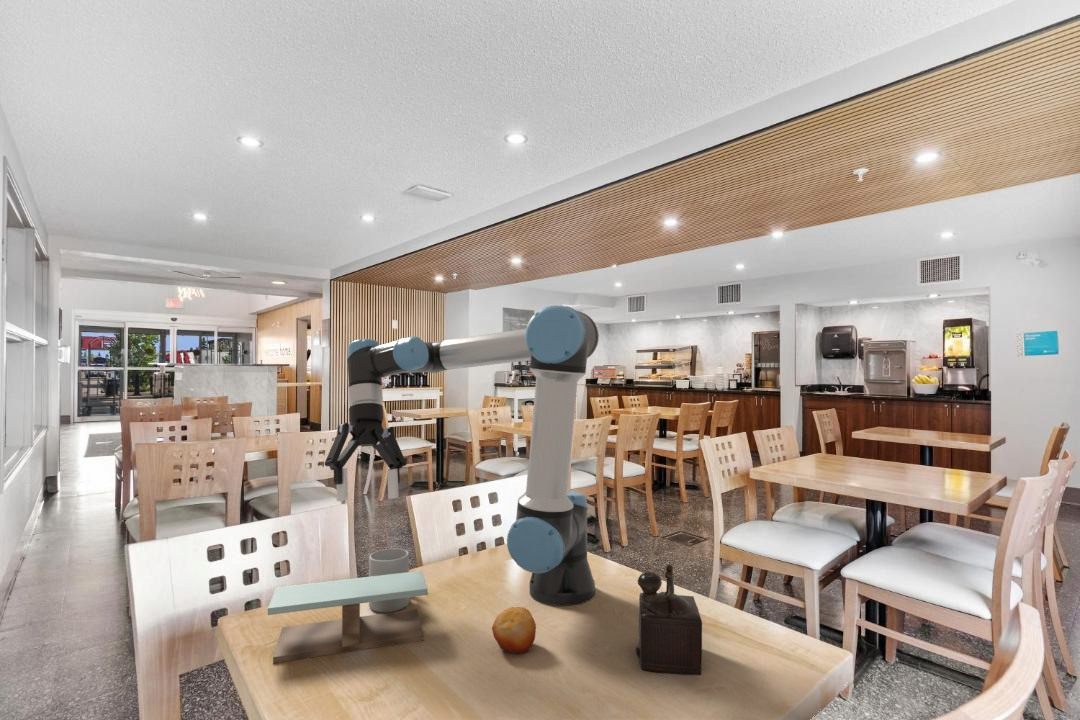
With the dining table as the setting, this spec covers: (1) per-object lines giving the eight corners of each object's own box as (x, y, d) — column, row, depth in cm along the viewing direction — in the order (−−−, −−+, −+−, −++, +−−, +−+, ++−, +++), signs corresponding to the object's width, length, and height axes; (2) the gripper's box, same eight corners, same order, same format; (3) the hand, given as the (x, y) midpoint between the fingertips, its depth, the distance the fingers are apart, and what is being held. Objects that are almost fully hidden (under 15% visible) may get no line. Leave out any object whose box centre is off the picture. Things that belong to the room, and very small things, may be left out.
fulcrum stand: (416, 613, 117) (416, 575, 117) (422, 640, 105) (422, 598, 105) (282, 632, 109) (282, 591, 109) (272, 663, 97) (273, 617, 97)
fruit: (545, 629, 107) (538, 602, 103) (533, 668, 100) (525, 641, 96) (506, 623, 109) (498, 596, 105) (492, 661, 103) (483, 634, 99)
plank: (422, 576, 116) (422, 570, 116) (427, 594, 107) (427, 588, 107) (276, 593, 108) (276, 587, 108) (267, 615, 98) (267, 608, 98)
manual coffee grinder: (634, 641, 105) (634, 546, 105) (694, 645, 103) (694, 548, 103) (637, 688, 89) (637, 576, 90) (708, 693, 88) (707, 579, 88)
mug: (397, 614, 116) (397, 562, 116) (361, 610, 118) (361, 559, 118) (422, 592, 128) (422, 544, 128) (388, 589, 130) (388, 542, 130)
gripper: (397, 413, 140) (401, 499, 134) (307, 403, 120) (307, 503, 114) (417, 407, 136) (423, 495, 130) (328, 395, 116) (329, 498, 110)
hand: (369, 499), depth 122 cm, fingers open, 13 cm apart
